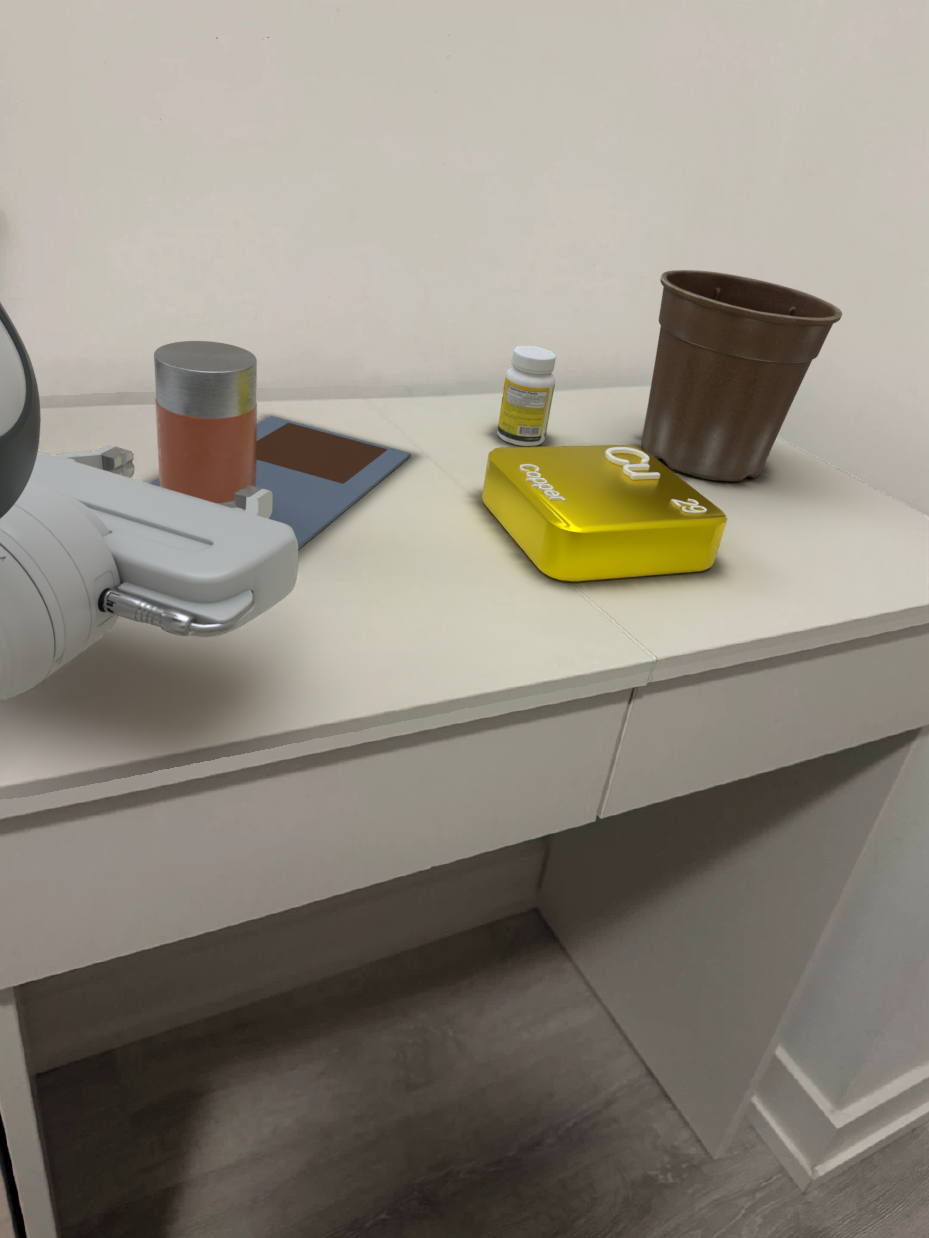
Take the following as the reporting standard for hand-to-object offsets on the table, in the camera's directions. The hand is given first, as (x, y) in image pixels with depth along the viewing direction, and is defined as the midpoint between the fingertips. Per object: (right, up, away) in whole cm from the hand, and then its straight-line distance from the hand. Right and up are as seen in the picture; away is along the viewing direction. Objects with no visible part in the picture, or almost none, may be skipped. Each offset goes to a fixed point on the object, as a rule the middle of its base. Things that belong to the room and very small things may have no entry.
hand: (191, 478), depth 54 cm
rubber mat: (+1, +2, +18) cm, 18 cm away
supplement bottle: (+22, +9, +35) cm, 42 cm away
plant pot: (+40, +7, +37) cm, 55 cm away
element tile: (+26, -2, +19) cm, 33 cm away
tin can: (-2, -1, +11) cm, 11 cm away
